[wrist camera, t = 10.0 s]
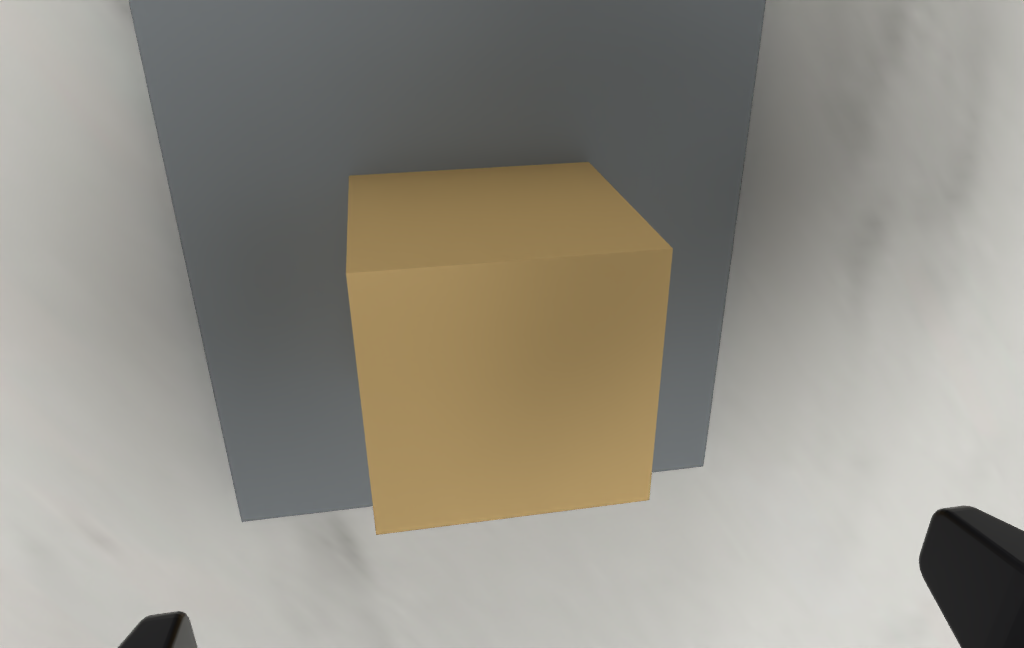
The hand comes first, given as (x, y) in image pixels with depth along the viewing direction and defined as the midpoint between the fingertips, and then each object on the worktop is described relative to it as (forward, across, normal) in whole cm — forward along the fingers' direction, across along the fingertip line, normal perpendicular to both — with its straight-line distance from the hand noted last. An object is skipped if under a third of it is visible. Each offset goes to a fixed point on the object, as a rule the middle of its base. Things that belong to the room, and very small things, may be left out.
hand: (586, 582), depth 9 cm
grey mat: (+10, 0, 0) cm, 10 cm away
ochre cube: (+9, 0, 0) cm, 9 cm away
